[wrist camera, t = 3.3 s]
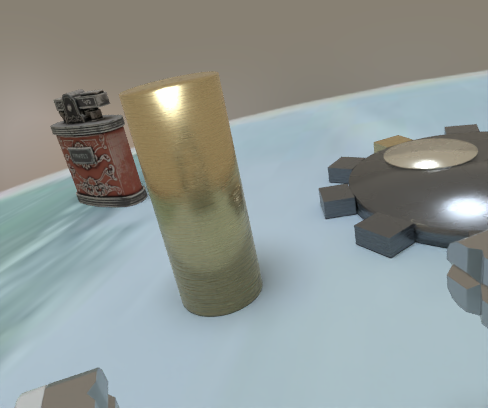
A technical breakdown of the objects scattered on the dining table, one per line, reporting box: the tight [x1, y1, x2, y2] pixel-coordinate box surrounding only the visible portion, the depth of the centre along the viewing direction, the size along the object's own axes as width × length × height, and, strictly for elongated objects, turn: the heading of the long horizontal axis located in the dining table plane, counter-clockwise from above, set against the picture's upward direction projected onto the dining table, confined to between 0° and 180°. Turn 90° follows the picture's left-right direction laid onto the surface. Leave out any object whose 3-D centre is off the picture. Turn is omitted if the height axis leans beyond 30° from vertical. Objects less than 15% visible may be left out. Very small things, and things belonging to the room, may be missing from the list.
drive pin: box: [119, 71, 262, 316], centre depth 21 cm, size 4×4×11 cm
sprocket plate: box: [319, 124, 488, 258], centre depth 28 cm, size 20×20×1 cm
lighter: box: [51, 89, 147, 207], centre depth 38 cm, size 8×3×10 cm, turn 59°
